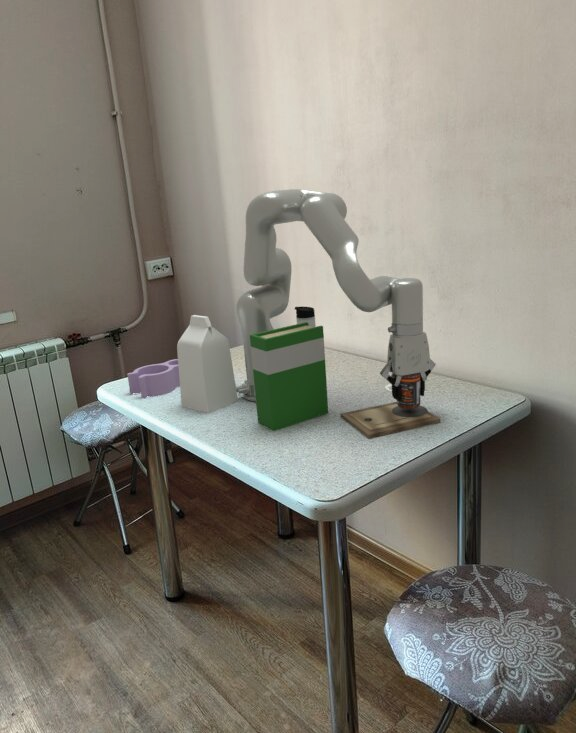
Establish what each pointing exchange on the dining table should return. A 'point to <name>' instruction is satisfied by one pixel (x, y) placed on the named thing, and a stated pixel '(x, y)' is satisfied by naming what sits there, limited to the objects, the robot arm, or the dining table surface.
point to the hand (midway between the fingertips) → (408, 396)
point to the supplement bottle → (410, 391)
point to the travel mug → (305, 315)
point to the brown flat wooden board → (388, 419)
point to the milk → (205, 367)
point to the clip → (155, 379)
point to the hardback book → (289, 375)
